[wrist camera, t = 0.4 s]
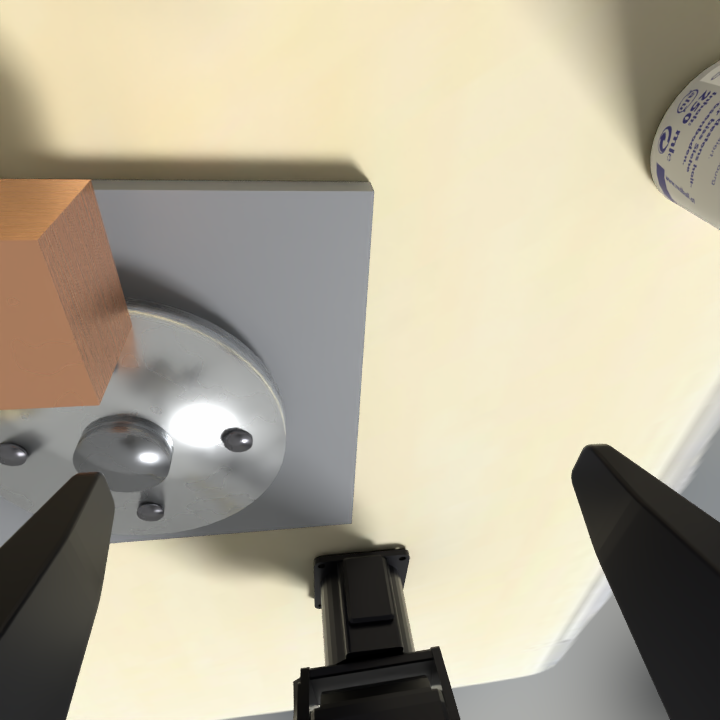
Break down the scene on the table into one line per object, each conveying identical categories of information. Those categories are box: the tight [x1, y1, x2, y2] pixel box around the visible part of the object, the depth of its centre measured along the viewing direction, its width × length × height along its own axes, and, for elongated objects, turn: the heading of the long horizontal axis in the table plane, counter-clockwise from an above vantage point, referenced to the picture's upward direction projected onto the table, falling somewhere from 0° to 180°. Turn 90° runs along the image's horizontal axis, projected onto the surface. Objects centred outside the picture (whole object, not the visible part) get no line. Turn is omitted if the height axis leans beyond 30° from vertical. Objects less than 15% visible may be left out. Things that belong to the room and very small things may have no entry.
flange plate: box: [0, 179, 286, 535], centre depth 18 cm, size 18×13×5 cm
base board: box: [0, 179, 374, 547], centre depth 22 cm, size 20×20×2 cm
